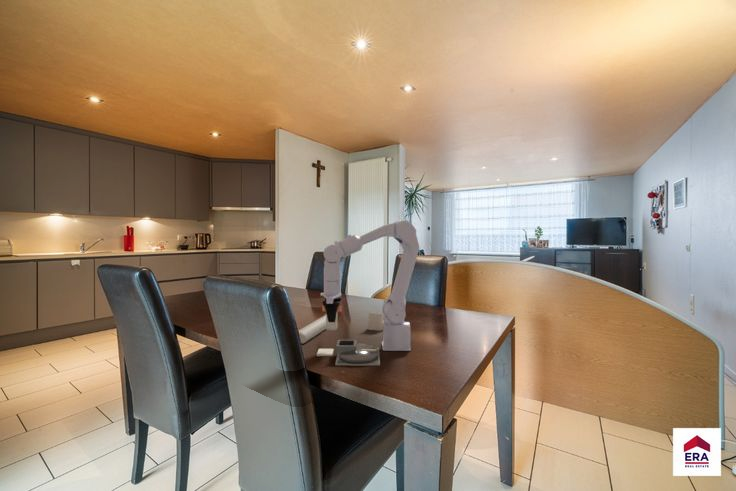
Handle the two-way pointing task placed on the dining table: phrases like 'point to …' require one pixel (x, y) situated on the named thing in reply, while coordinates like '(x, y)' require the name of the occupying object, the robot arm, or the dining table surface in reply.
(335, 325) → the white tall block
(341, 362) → the chuck base
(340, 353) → the grey base plate
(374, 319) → the grey square block
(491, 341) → the dining table surface
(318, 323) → the tube
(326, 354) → the felt pad
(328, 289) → the robot arm
